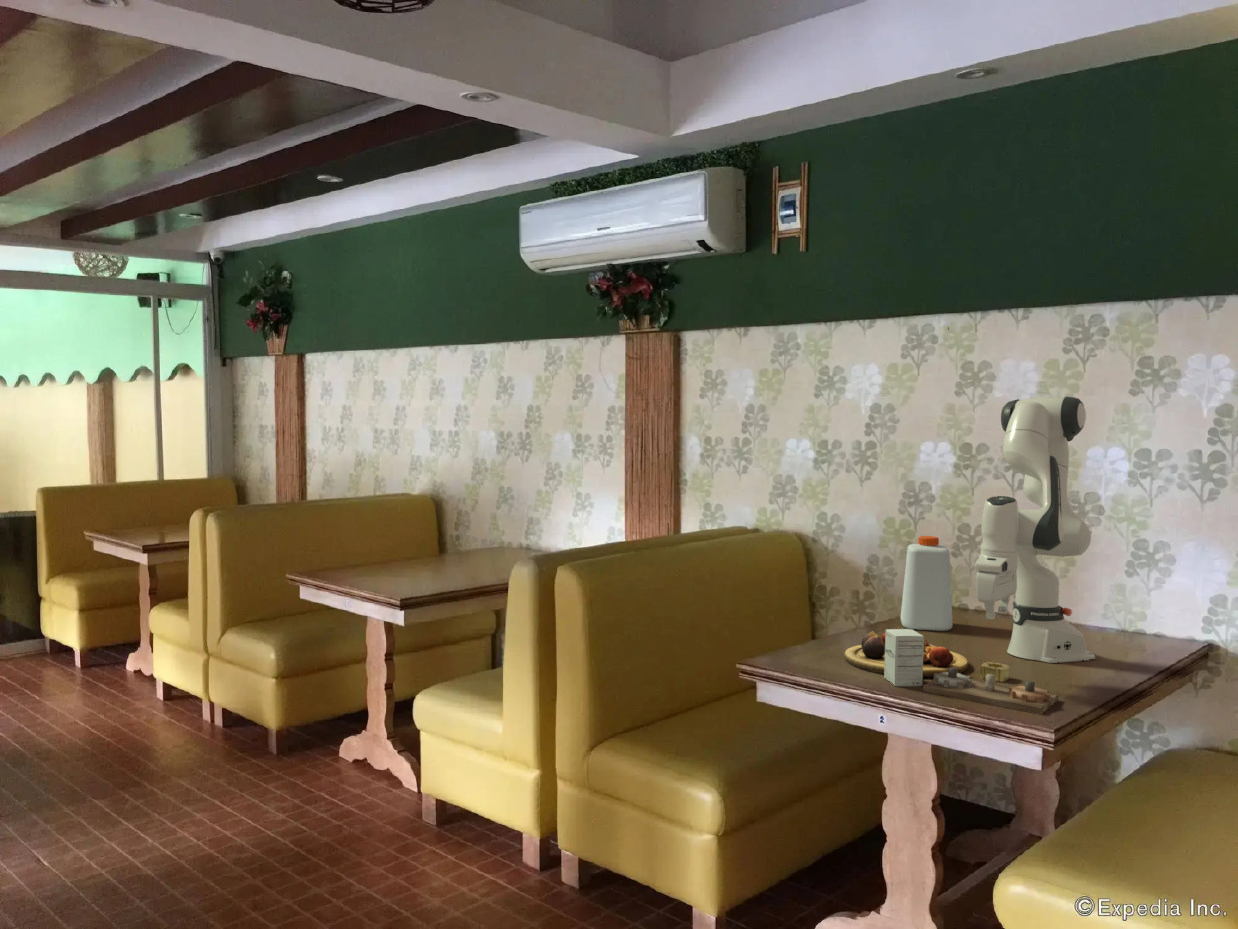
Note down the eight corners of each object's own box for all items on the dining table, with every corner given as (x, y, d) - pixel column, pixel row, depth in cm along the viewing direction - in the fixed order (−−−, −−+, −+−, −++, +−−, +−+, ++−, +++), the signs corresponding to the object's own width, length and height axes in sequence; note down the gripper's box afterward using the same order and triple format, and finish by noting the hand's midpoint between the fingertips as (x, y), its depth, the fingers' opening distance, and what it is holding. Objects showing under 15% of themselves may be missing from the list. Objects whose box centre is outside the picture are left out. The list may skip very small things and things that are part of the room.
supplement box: (883, 678, 249) (884, 628, 249) (911, 678, 250) (913, 628, 249) (893, 686, 242) (895, 635, 241) (923, 686, 243) (924, 635, 242)
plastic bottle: (948, 622, 316) (951, 535, 315) (953, 632, 302) (956, 541, 300) (899, 619, 320) (902, 533, 318) (902, 629, 305) (904, 539, 303)
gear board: (944, 679, 249) (944, 660, 248) (1058, 700, 232) (1059, 679, 232) (923, 691, 238) (923, 671, 237) (1040, 714, 221) (1041, 692, 221)
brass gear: (986, 673, 255) (987, 661, 255) (1010, 677, 251) (1011, 665, 251) (978, 678, 250) (979, 666, 250) (1003, 682, 247) (1003, 670, 246)
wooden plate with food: (993, 677, 253) (994, 644, 253) (879, 681, 246) (880, 648, 246) (928, 649, 285) (929, 620, 284) (824, 652, 278) (825, 623, 277)
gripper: (999, 556, 259) (997, 608, 260) (972, 564, 243) (970, 620, 244) (1024, 558, 255) (1022, 612, 256) (998, 567, 239) (996, 623, 240)
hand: (996, 616), depth 250 cm, fingers open, 8 cm apart
